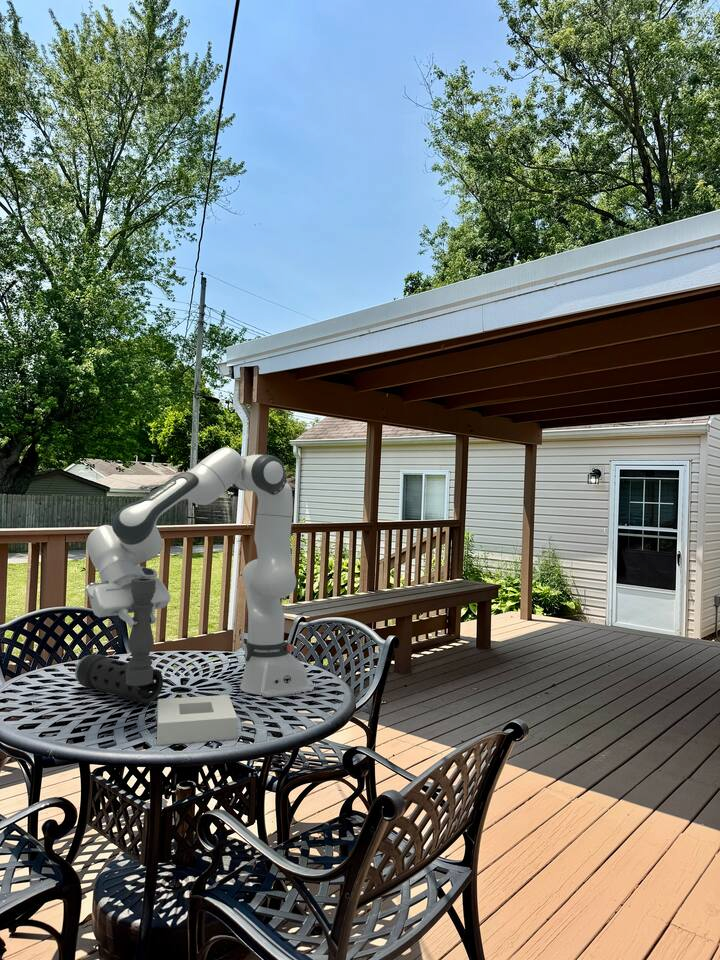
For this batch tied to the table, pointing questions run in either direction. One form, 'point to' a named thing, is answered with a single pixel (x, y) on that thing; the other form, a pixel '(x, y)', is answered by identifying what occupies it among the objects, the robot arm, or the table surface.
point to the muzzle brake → (115, 679)
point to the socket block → (195, 719)
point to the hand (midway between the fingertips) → (143, 623)
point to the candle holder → (141, 633)
